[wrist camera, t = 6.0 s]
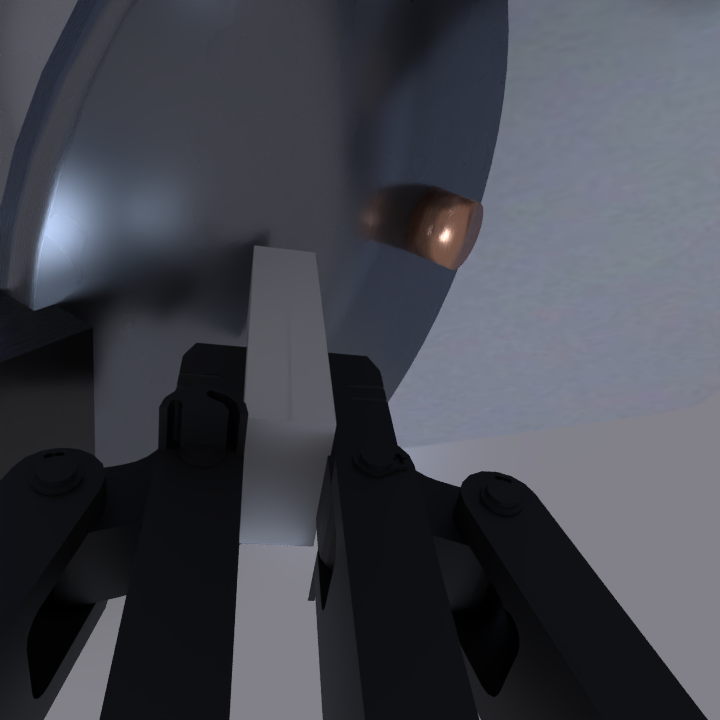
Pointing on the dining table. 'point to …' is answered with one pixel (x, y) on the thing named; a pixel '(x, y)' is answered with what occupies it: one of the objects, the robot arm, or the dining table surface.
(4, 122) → the cooking pot
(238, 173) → the pot lid
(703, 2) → the dining table surface
